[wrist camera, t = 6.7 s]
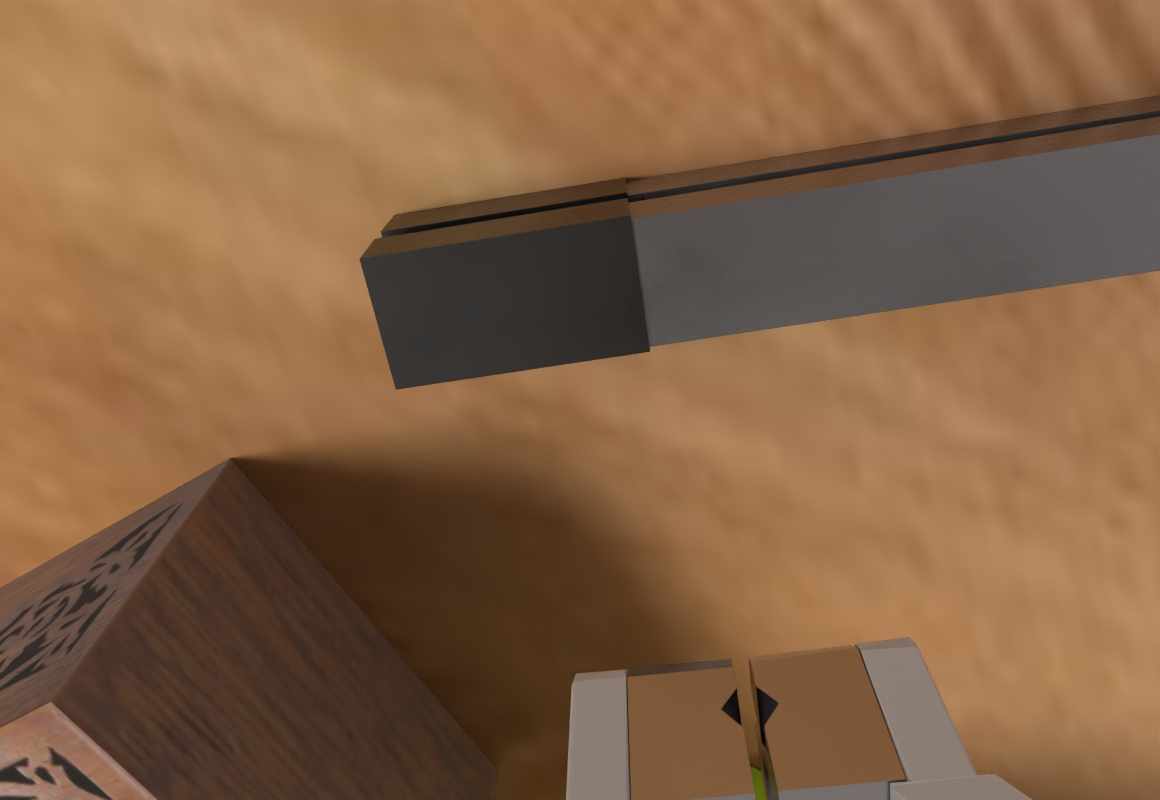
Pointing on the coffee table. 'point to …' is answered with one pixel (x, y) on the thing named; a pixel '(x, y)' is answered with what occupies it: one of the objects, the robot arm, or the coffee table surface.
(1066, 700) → the coffee table surface
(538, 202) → the tongs lower arm
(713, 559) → the coffee table surface
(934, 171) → the tongs upper arm
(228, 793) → the tissue box cover
